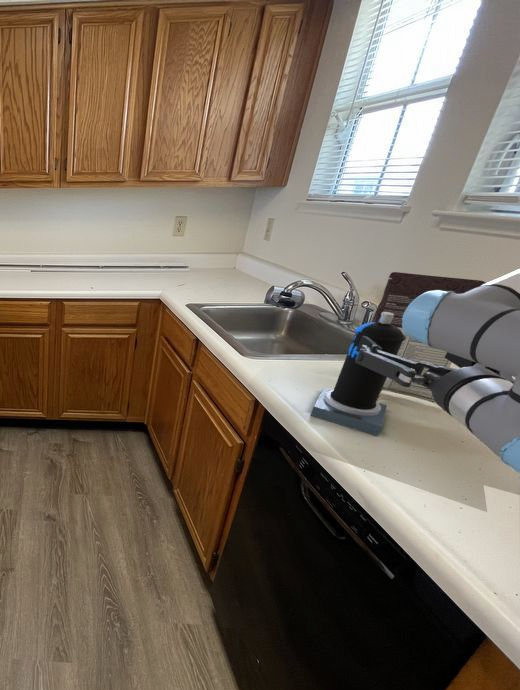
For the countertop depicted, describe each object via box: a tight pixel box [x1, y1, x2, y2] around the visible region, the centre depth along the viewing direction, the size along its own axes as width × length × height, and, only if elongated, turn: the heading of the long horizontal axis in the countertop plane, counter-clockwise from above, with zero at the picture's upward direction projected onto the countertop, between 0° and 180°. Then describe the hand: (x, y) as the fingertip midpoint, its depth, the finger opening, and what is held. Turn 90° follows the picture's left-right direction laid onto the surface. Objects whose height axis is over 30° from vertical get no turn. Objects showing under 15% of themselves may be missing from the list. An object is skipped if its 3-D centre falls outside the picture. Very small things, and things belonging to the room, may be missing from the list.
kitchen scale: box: [310, 387, 388, 437], centre depth 92 cm, size 12×12×3 cm
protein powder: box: [371, 271, 486, 403], centre depth 99 cm, size 16×9×28 cm, turn 54°
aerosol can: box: [331, 312, 406, 409], centre depth 88 cm, size 8×8×20 cm
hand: (404, 346), depth 77 cm, fingers open, 13 cm apart
